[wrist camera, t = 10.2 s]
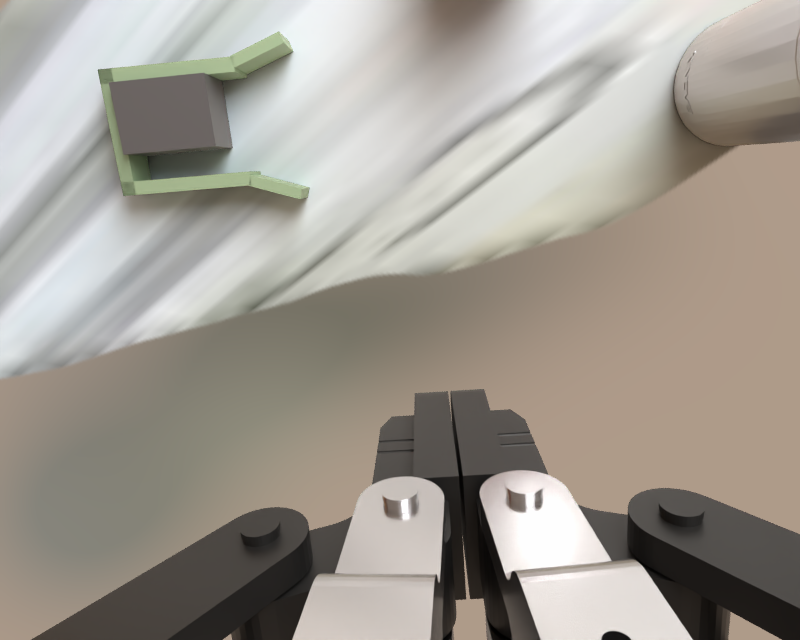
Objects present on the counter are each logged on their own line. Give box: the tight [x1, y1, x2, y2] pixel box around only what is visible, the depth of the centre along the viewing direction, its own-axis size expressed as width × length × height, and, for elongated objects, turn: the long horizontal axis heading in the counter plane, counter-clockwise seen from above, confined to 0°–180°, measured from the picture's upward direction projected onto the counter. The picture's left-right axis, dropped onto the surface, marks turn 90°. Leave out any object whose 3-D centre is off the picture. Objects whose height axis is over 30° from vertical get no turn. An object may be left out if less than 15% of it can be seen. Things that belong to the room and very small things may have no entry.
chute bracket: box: [98, 32, 309, 199], centre depth 43 cm, size 14×12×3 cm
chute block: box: [109, 73, 233, 156], centre depth 42 cm, size 7×5×4 cm
